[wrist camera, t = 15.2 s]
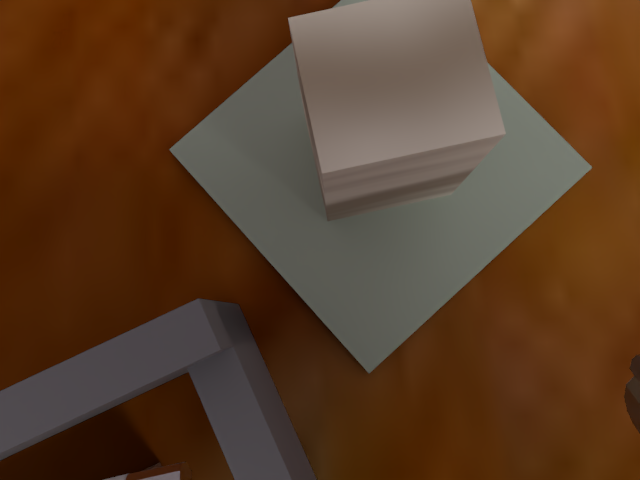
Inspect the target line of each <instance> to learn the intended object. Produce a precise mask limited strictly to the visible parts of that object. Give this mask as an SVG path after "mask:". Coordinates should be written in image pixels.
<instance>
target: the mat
mask: <svg viewBox="0 0 640 480" xmlns="http://www.w3.org/2000/svg"><path fill="white" fill-rule="evenodd" d="M363 1H368V0H341V1H340V2H338V3H337V4H336V5H335V6H334V7H333V8H336V7H340V6H345V5H350V4H354V3H359V2H363ZM487 64H488V63H487ZM488 67H489V71H490V75H491V79H492V83H493V86H494V90H495V94H496V98H497V102H498V105H499V109H500V113H501V117H502V121H503V124H504V128H505V132H506V134H505V135H504V137H503V138H502V139H501V140H500V141H499V142H498V143H497V144H496V145H495V147H494V148H493V149H492V150H491V151H490V152H489V153H488V154H487V155H486V157H485V158H484V159H483V160H482V161H481V162H480V163H479V164H478V165H477V166H476V168H475V169H474V170H473V171H472V172H471V173H470V174H469V175H468V176H467V178H466V179H465V180H464V181H463V182H462V183H461V184H460V185H459V186H458V187H457V189H456V190H455V191H454V192H453V193H452V194H451V195H448V196H443V197H438V198H434V199H429V200H424V201H420V202H415V203H411V204H406V205H401V206H397V207H392V208H387V209H383V210H378V211H373V212H369V213H364V214H360V215H355V216H350V217H346V218H341V219H336V220H332V221H327V216H326V211H325V207H324V202H323V198H322V193H321V188H320V184H319V179H318V175H317V170H316V165H315V161H314V156H313V152H312V147H311V143H310V138H309V133H308V129H307V124H306V120H305V115H304V109H303V103H302V97H301V92H300V86H299V80H298V74H297V68H296V62H295V56H294V50H293V45H292V43H291V44H290V45H289V46H288V47H287V48H285V49H284V50H283V51H282V52H281V53H280V54H278V55H277V56H276V57H275V58H274V59H273V60H272V61H270V62H269V63H268V64H267V65H266V66H265V67H263V68H262V69H261V70H260V71H259V72H258V73H257V74H255V75H254V76H253V77H252V78H251V79H250V80H249V81H247V82H246V83H245V84H244V85H243V86H242V87H240V88H239V89H238V90H237V91H236V92H235V93H234V94H232V95H231V96H230V97H229V98H228V99H227V100H225V101H224V102H223V103H222V104H221V105H220V106H219V107H217V108H216V109H215V110H214V111H213V112H212V113H210V114H209V115H208V116H207V117H206V118H205V119H204V120H202V121H201V122H200V123H199V124H198V125H197V126H195V127H194V128H193V129H192V130H191V131H190V132H189V133H187V134H186V135H185V136H184V137H183V138H182V139H180V140H179V141H178V142H177V143H176V144H175V145H174V146H172V147H171V148H170V149H169V150H170V151H171V152H172V154H173V155H174V156H175V157H176V158H177V159H178V160H179V161H180V163H181V164H182V165H183V166H184V167H185V168H186V169H187V170H188V171H189V173H190V174H191V175H192V176H193V177H194V178H195V179H196V180H197V182H198V183H199V184H200V185H201V186H202V187H203V188H204V189H205V191H206V192H207V193H208V194H209V195H210V196H211V197H212V198H213V199H214V201H215V202H216V203H217V204H218V205H219V206H220V207H221V208H222V210H223V211H224V212H225V213H226V214H227V215H228V216H229V217H230V218H231V220H232V221H233V222H234V223H235V224H236V225H237V226H238V227H239V229H240V230H241V231H242V232H243V233H244V234H245V235H246V236H247V238H248V239H249V240H250V241H251V242H252V243H253V244H254V245H255V246H256V248H257V249H258V250H259V251H260V252H261V253H262V254H263V255H264V257H265V258H266V259H267V260H268V261H269V262H270V263H271V264H272V266H273V267H274V268H275V269H276V270H277V271H278V272H279V273H280V274H281V276H282V277H283V278H284V279H285V280H286V281H287V282H288V283H289V285H290V286H291V287H292V288H293V289H294V290H295V291H296V292H297V294H298V295H299V296H300V297H301V298H302V299H303V300H304V301H305V302H306V304H307V305H308V306H309V307H310V308H311V309H312V310H313V311H314V313H315V314H316V315H317V316H318V317H319V318H320V319H321V320H322V322H323V323H324V324H325V325H326V326H327V327H328V328H329V329H330V330H331V332H332V333H333V334H334V335H335V336H336V337H337V338H338V339H339V341H340V342H341V343H342V344H343V345H344V346H345V347H346V348H347V349H348V351H349V352H350V353H351V354H352V355H353V356H354V357H355V358H356V360H357V361H358V362H359V363H360V364H361V365H362V366H363V367H364V369H365V370H366V371H367V372H368V373H370V372H371V371H373V370H374V369H375V368H376V367H377V366H378V365H379V364H380V363H381V362H382V361H383V360H384V359H386V358H387V357H388V356H389V355H390V354H391V353H392V352H393V351H394V350H395V349H396V348H397V347H399V346H400V345H401V344H402V343H403V342H404V341H405V340H406V339H407V338H408V337H409V336H410V335H412V334H413V333H414V332H415V331H416V330H417V329H418V328H419V327H420V326H421V325H422V324H423V323H425V322H426V321H427V320H428V319H429V318H430V317H431V316H432V315H433V314H434V313H435V312H436V311H438V310H439V309H440V308H441V307H442V306H443V305H444V304H445V303H446V302H447V301H448V300H449V299H451V298H452V297H453V296H454V295H455V294H456V293H457V292H458V291H459V290H460V289H461V288H462V287H464V286H465V285H466V284H467V283H468V282H469V281H470V280H471V279H472V278H473V277H474V276H475V275H477V274H478V273H479V272H480V271H481V270H482V269H483V268H484V267H485V266H486V265H487V264H488V263H490V262H491V261H492V260H493V259H494V258H495V257H496V256H497V255H498V254H499V253H500V252H501V251H503V250H504V249H505V248H506V247H507V246H508V245H509V244H510V243H511V242H512V241H513V240H514V239H516V238H517V237H518V236H519V235H520V234H521V233H522V232H523V231H524V230H525V229H526V228H527V227H529V226H530V225H531V224H532V223H533V222H534V221H535V220H536V219H537V218H538V217H539V216H540V215H542V214H543V213H544V212H545V211H546V210H547V209H548V208H549V207H550V206H551V205H552V204H553V203H555V202H556V201H557V200H558V199H559V198H560V197H561V196H562V195H563V194H564V193H565V192H566V191H568V190H569V189H570V188H571V187H572V186H573V185H574V184H575V183H576V182H577V181H578V180H579V179H581V178H582V177H583V176H584V175H585V174H586V173H587V172H588V171H589V170H590V169H591V168H592V167H591V166H590V165H589V164H588V163H587V162H586V161H585V160H584V159H583V158H582V157H581V156H580V155H579V154H578V153H577V152H576V151H575V150H574V149H573V148H572V147H571V146H570V145H569V144H568V143H567V142H566V141H565V140H564V139H563V138H562V137H561V136H560V135H559V134H558V133H557V132H556V131H555V130H554V129H553V128H552V127H551V126H550V125H549V124H548V123H547V122H546V121H545V120H544V119H543V118H542V117H541V116H540V115H539V114H538V113H537V112H536V111H535V110H534V109H533V108H532V107H531V106H530V105H529V104H528V103H527V102H526V101H525V100H524V99H523V98H522V97H521V96H520V95H519V94H518V93H517V92H516V91H515V90H514V89H513V88H512V87H511V86H510V85H509V84H508V83H507V82H506V81H505V80H504V79H503V78H502V77H501V76H500V75H499V74H498V73H497V72H496V71H495V70H494V69H493V68H492V67H491V66H490V65H489V64H488Z"/></svg>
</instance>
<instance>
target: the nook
mask: <svg viewBox="0 0 640 480" xmlns="http://www.w3.org/2000/svg"><path fill="white" fill-rule="evenodd" d="M187 372H189V374H190V376H191V379H192V381H193V383H194V386H195V388H196V390H197V393H198V395H199V397H200V400H201V402H202V404H203V407H204V409H205V411H206V414H207V416H208V418H209V421H210V423H211V425H212V428H213V430H214V433H215V435H216V437H217V440H218V442H219V444H220V447H221V449H222V451H223V454H224V456H225V458H226V461H227V463H228V465H229V468H230V470H231V472H232V475H233V477H234V479H235V480H317V479H316V477H315V475H314V472H313V470H312V468H311V466H310V463H309V461H308V459H307V457H306V454H305V452H304V450H303V448H302V445H301V443H300V441H299V439H298V436H297V434H296V432H295V430H294V427H293V425H292V423H291V421H290V418H289V416H288V414H287V412H286V409H285V407H284V405H283V403H282V400H281V398H280V396H279V394H278V391H277V389H276V387H275V385H274V382H273V380H272V378H271V376H270V374H269V371H268V369H267V367H266V365H265V362H264V360H263V358H262V356H261V353H260V351H259V349H258V347H257V344H256V342H255V340H254V338H253V335H252V333H251V331H250V329H249V326H248V324H247V322H246V320H245V317H244V315H243V313H242V311H241V308H240V306H239V304H234V303H227V302H220V301H213V300H206V299H199V298H198V299H196V300H194V301H192V302H190V303H188V304H185V305H183V306H181V307H179V308H177V309H175V310H173V311H170V312H168V313H166V314H164V315H162V316H160V317H158V318H155V319H153V320H151V321H149V322H147V323H145V324H143V325H140V326H138V327H136V328H134V329H132V330H130V331H128V332H125V333H123V334H121V335H119V336H117V337H115V338H113V339H110V340H108V341H106V342H104V343H102V344H100V345H98V346H95V347H93V348H91V349H89V350H87V351H85V352H83V353H81V354H78V355H76V356H74V357H72V358H70V359H68V360H66V361H63V362H61V363H59V364H57V365H55V366H53V367H51V368H48V369H46V370H44V371H42V372H40V373H38V374H36V375H33V376H31V377H29V378H27V379H25V380H23V381H21V382H18V383H16V384H14V385H12V386H10V387H8V388H6V389H3V390H1V391H0V460H2V459H4V458H7V457H9V456H11V455H13V454H15V453H17V452H19V451H21V450H24V449H26V448H28V447H30V446H32V445H34V444H36V443H38V442H41V441H43V440H45V439H47V438H49V437H51V436H53V435H55V434H58V433H60V432H62V431H64V430H66V429H68V428H70V427H72V426H75V425H77V424H79V423H81V422H83V421H85V420H87V419H89V418H92V417H94V416H96V415H98V414H100V413H102V412H104V411H106V410H109V409H111V408H113V407H115V406H117V405H119V404H121V403H123V402H126V401H128V400H130V399H132V398H134V397H136V396H138V395H140V394H143V393H145V392H147V391H149V390H151V389H153V388H155V387H157V386H160V385H162V384H164V383H166V382H168V381H170V380H172V379H174V378H177V377H179V376H181V375H183V374H185V373H187ZM158 467H162V466H161V464H160V462H159V463H157V464H155V465H153V466H151V467H149V468H147V469H145V470H149V469H153V468H158ZM142 471H144V470H142Z"/></svg>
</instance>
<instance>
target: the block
mask: <svg viewBox="0 0 640 480" xmlns="http://www.w3.org/2000/svg"><path fill="white" fill-rule="evenodd" d="M288 21H289V27H290V33H291V39H292V45H293V50H294V56H295V62H296V68H297V74H298V80H299V86H300V92H301V97H302V103H303V109H304V115H305V120H306V124H307V129H308V133H309V138H310V143H311V147H312V152H313V156H314V161H315V165H316V170H317V175H318V179H319V184H320V188H321V193H322V198H323V202H324V207H325V211H326V216H327V221H332V220H336V219H341V218H346V217H350V216H355V215H360V214H364V213H369V212H373V211H378V210H383V209H387V208H392V207H397V206H401V205H406V204H411V203H415V202H420V201H424V200H429V199H434V198H438V197H443V196H448V195H451V194H452V193H453V192H454V191H455V190H456V189H457V187H458V186H459V185H460V184H461V183H462V182H463V181H464V180H465V179H466V178H467V176H468V175H469V174H470V173H471V172H472V171H473V170H474V169H475V168H476V166H477V165H478V164H479V163H480V162H481V161H482V160H483V159H484V158H485V157H486V155H487V154H488V153H489V152H490V151H491V150H492V149H493V148H494V147H495V145H496V144H497V143H498V142H499V141H500V140H501V139H502V138H503V137H504V135H505V134H506V132H505V128H504V124H503V121H502V117H501V113H500V109H499V105H498V102H497V98H496V94H495V90H494V86H493V83H492V79H491V75H490V71H489V67H488V64H487V60H486V56H485V52H484V48H483V45H482V41H481V37H480V33H479V30H478V26H477V22H476V18H475V14H474V11H473V7H472V3H471V0H368V1H363V2H359V3H354V4H350V5H345V6H340V7H336V8H331V9H327V10H322V11H317V12H313V13H308V14H304V15H299V16H294V17H290V18H288Z"/></svg>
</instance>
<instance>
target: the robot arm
mask: <svg viewBox="0 0 640 480" xmlns="http://www.w3.org/2000/svg"><path fill="white" fill-rule="evenodd" d="M630 370H631V371H632V373H633V374H634V377H633V378H632V379H631V380H630V381H629V382H628V383H627V384H626V388H625V394H624V399H625V403H626V408H627V412H628V414H629V416H630V418H631V420H632V422H633V424H634V426H635V427H636V429H637V430H638V432H639V433H640V354H638V355H636V356H635V357H634V358H633V359H632V360H631V365H630ZM104 480H192V470H191V469H190V467H189V465H188V464H187V462H186V461H185V462H181V463H176V464H171V465H167V466H162V467H158V468H153V469H149V470H144V471H140V472H135V473H131V474H125V475H121V476H116V477H112V478H108V479H104Z"/></svg>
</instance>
